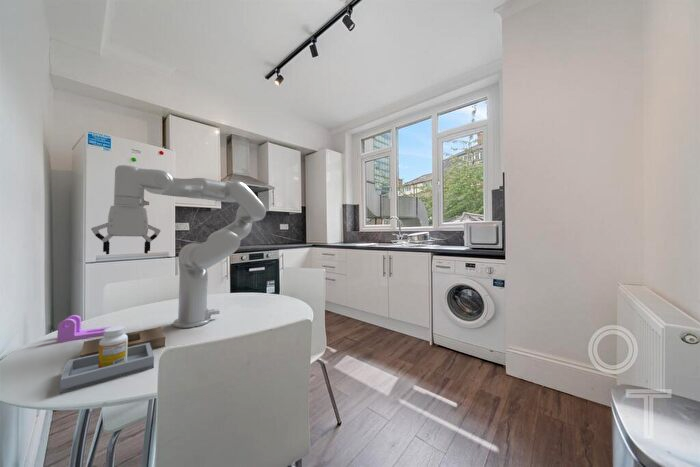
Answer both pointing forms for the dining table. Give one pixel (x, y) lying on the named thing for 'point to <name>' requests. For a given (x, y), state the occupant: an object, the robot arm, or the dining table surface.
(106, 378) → the parts tray
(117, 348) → the supplement bottle
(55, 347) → the dining table surface
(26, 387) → the dining table surface
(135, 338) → the socket holder
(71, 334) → the bracket
